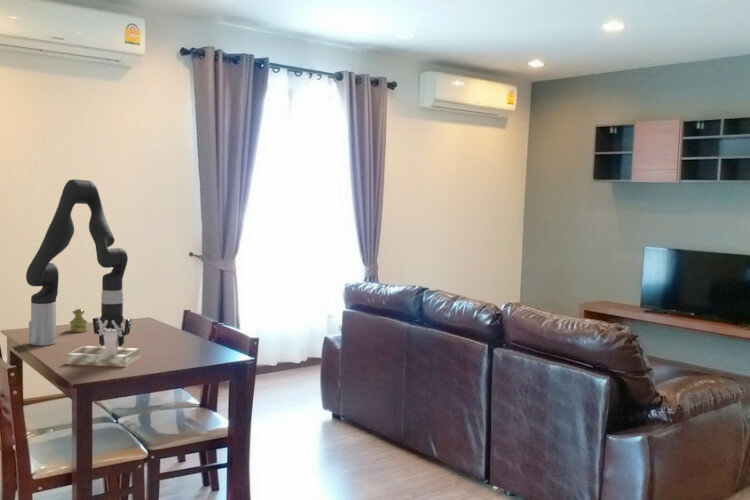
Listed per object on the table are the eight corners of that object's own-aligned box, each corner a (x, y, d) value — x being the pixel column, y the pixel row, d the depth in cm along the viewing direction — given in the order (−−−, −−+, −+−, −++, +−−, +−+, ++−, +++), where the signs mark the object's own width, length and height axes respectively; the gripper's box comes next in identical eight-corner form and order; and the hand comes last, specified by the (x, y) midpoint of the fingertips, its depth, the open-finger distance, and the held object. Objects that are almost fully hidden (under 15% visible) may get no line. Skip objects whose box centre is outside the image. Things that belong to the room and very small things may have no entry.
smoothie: (103, 359, 249) (103, 321, 248) (101, 355, 255) (101, 318, 254) (121, 357, 252) (121, 320, 251) (119, 353, 258) (119, 317, 257)
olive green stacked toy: (75, 328, 309) (75, 307, 308) (90, 330, 308) (90, 308, 307) (66, 332, 301) (66, 309, 300) (81, 333, 300) (81, 311, 299)
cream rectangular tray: (66, 364, 247) (66, 354, 247) (83, 355, 261) (83, 345, 261) (125, 366, 247) (125, 356, 246) (139, 357, 261) (139, 348, 260)
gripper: (88, 302, 248) (88, 346, 250) (127, 304, 248) (126, 348, 249) (97, 299, 256) (97, 342, 257) (135, 300, 256) (134, 344, 257)
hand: (111, 345), depth 253 cm, fingers closed on smoothie, 6 cm apart
